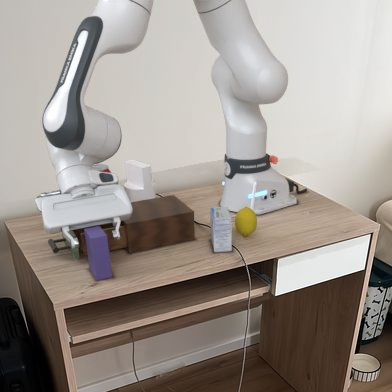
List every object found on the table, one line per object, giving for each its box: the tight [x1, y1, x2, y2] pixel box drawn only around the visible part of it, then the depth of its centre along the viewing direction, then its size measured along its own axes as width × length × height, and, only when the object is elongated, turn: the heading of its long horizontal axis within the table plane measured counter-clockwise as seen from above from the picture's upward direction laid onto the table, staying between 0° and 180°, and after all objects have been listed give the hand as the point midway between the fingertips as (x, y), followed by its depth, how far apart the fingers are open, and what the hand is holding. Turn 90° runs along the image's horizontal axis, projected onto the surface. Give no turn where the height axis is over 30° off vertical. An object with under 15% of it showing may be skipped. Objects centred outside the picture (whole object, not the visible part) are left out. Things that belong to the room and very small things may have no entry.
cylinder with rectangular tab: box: [123, 158, 157, 202], centre depth 157 cm, size 9×9×12 cm
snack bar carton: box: [84, 226, 113, 281], centre depth 121 cm, size 4×6×10 cm, turn 24°
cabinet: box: [122, 194, 196, 254], centre depth 138 cm, size 18×14×8 cm
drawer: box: [47, 221, 128, 260], centre depth 133 cm, size 21×12×6 cm, turn 114°
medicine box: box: [209, 206, 233, 253], centre depth 132 cm, size 8×4×9 cm, turn 5°
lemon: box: [234, 207, 258, 238], centre depth 136 cm, size 6×6×8 cm
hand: (96, 243), depth 121 cm, fingers open, 8 cm apart
